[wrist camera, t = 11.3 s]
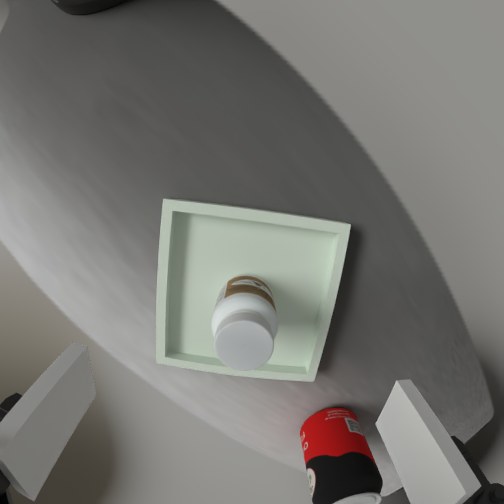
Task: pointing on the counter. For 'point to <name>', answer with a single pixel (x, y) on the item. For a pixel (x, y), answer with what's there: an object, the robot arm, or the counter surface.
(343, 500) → the beverage can
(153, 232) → the counter surface
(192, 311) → the tray
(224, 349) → the pill bottle
